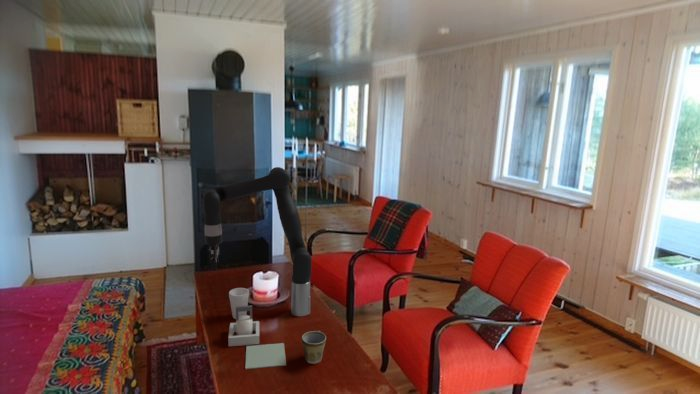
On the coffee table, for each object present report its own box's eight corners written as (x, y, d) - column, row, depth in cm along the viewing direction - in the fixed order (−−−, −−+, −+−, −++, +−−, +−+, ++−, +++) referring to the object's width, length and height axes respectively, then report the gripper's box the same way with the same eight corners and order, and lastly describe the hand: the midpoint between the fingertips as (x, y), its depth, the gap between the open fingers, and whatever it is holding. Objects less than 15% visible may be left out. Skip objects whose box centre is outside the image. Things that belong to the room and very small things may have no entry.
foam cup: (251, 312, 210) (251, 288, 208) (245, 321, 201) (245, 296, 199) (233, 311, 211) (233, 287, 209) (226, 320, 202) (225, 295, 200)
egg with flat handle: (236, 333, 190) (236, 303, 187) (252, 332, 192) (252, 302, 189) (236, 342, 184) (235, 310, 181) (252, 340, 185) (252, 309, 182)
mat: (283, 343, 184) (283, 343, 184) (286, 365, 169) (286, 364, 168) (246, 346, 180) (246, 346, 180) (245, 369, 165) (245, 368, 165)
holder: (259, 328, 195) (259, 321, 195) (259, 344, 183) (259, 335, 182) (230, 331, 193) (230, 323, 192) (228, 346, 180) (228, 338, 179)
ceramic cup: (322, 368, 168) (322, 345, 166) (298, 364, 170) (298, 341, 168) (330, 350, 180) (330, 329, 178) (307, 347, 182) (308, 326, 180)
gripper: (220, 237, 184) (222, 272, 188) (223, 228, 198) (225, 260, 201) (202, 238, 183) (204, 273, 186) (206, 229, 197) (208, 261, 200)
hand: (215, 266), depth 194 cm, fingers open, 8 cm apart
